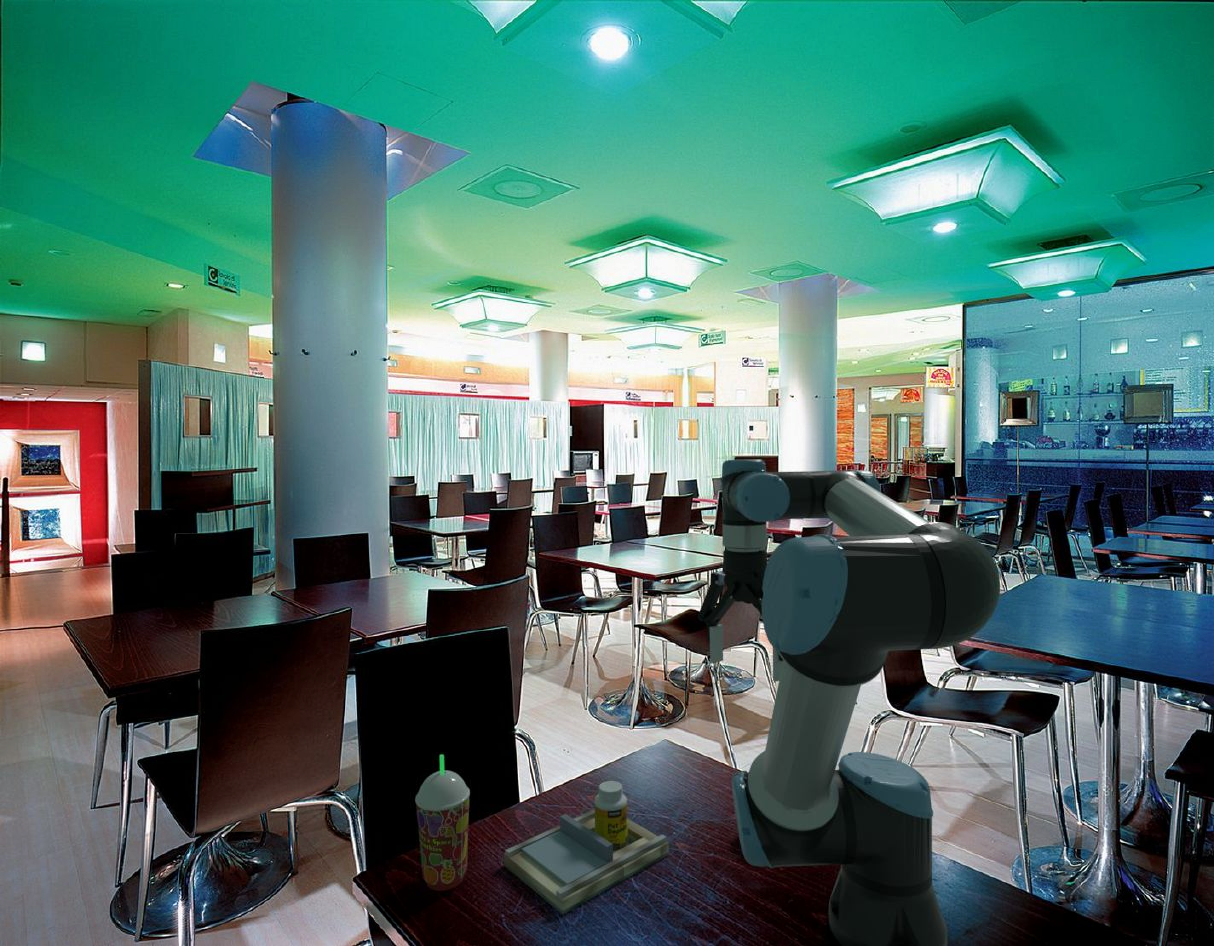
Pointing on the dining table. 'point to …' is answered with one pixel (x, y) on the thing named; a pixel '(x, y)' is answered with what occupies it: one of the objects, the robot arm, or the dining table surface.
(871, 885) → the robot arm
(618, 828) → the supplement bottle
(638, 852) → the sliding lid box
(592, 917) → the dining table surface
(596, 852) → the cover
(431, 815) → the smoothie
